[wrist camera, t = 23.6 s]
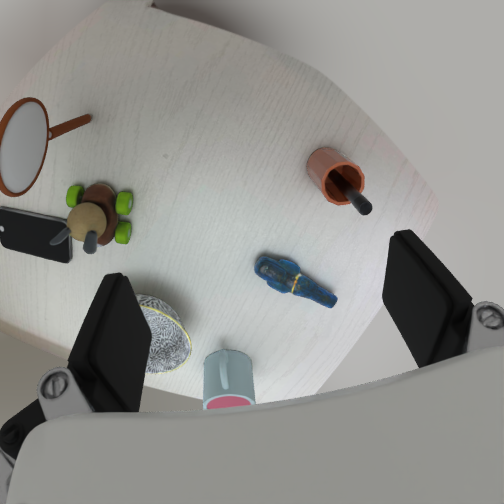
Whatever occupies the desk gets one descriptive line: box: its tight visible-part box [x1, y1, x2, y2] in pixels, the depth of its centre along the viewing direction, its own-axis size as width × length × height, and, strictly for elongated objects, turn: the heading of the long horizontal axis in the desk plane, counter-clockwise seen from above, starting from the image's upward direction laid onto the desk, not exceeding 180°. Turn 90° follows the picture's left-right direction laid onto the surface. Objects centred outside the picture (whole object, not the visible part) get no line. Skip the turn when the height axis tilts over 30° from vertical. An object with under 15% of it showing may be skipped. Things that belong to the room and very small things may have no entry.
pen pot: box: [307, 147, 364, 205], centre depth 37 cm, size 5×5×7 cm
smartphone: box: [0, 207, 72, 263], centre depth 40 cm, size 8×1×15 cm
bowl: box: [135, 294, 192, 374], centre depth 47 cm, size 16×16×8 cm
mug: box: [203, 349, 256, 409], centre depth 53 cm, size 14×9×10 cm
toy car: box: [50, 184, 133, 254], centre depth 35 cm, size 9×9×11 cm
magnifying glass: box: [0, 97, 92, 197], centre depth 25 cm, size 9×2×20 cm, turn 164°
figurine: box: [254, 256, 338, 308], centre depth 47 cm, size 5×4×15 cm
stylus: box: [327, 168, 372, 215], centre depth 34 cm, size 1×2×13 cm
